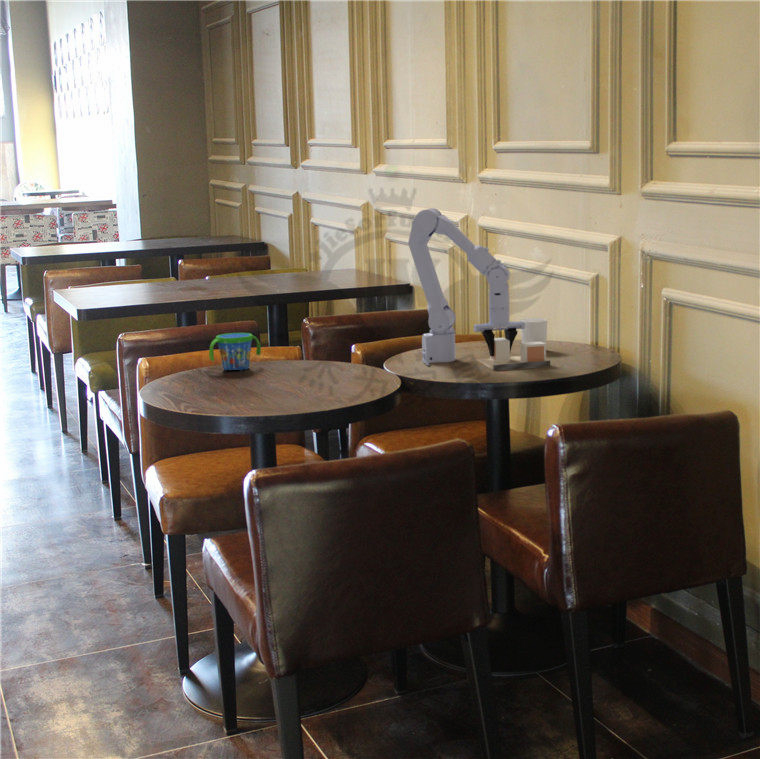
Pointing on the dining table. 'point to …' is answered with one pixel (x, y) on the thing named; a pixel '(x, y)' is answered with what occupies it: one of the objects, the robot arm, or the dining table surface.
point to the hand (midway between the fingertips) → (499, 355)
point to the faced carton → (533, 351)
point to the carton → (501, 350)
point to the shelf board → (513, 364)
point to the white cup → (534, 330)
